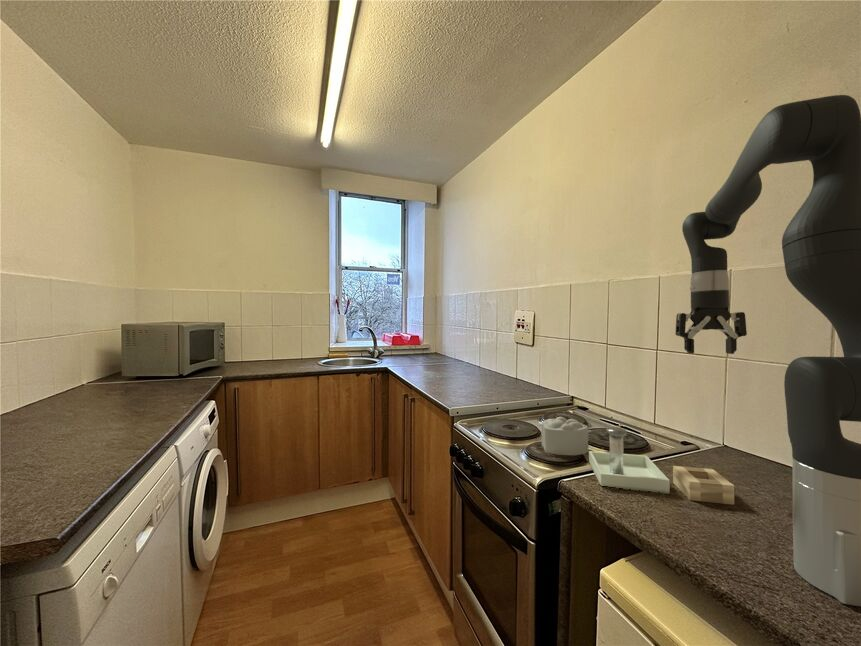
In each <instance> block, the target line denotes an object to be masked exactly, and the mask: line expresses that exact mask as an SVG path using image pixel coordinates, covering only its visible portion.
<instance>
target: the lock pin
mask: <svg viewBox="0 0 861 646" xmlns="http://www.w3.org/2000/svg"><path fill="white" fill-rule="evenodd" d="M605 432H606V434H607V435H608V436H609V453H610V473H611V474H619V475H624V464H623V454H624V437H626V436H627V430H626V428H625V429H624V428H622V427H619V426H618V427H617V426H608V427H606V430H605Z"/></svg>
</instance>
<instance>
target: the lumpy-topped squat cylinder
mask: <svg viewBox="0 0 861 646" xmlns="http://www.w3.org/2000/svg"><path fill="white" fill-rule="evenodd" d="M540 422H541V423H540V425H541V430H540V432H541V433H540V434H541V446H542V447H543V450H544V451H545V452H546V453H547V454H551V455H557V456H580V455H584V454H587V453H589V428H588V426H587V425H586V424H584V423H582V422H580V421H578V420H577V419H574V418H570V419H566V418H565V417H564V416H558V417H556V418H548V419H545V420H543V421H540Z"/></svg>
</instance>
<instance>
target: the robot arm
mask: <svg viewBox="0 0 861 646" xmlns="http://www.w3.org/2000/svg"><path fill="white" fill-rule="evenodd" d="M803 161H804V162H806V161H809V162H810V163H811V165H812V172H813V180H812V188H811V190H810V191H809V194H808V196H807V198H806V199H805V201H804V202H803V203H802V205H801V206H800V208H799V209H798V210H797V211H796V213H795V214H794V216H793V217H791V218H792V219H791V220H790V221H789V223H788V225H787V226H786V227H785V230H784V232H783V234H782V238H781V249H782V255H783V263H784V269H785V270H784V271H785V275H786V277H787V280H788V281H789V283H790V284H791V286H793V287H794V288H795V290H796V291H798V293H799V294H801V295H802V296H803V297H804V298H805V299H806V300H807V301H808V302H809V303H810V304H811V305H813V306H814V307H815V308H816V309H817V310H818V311H819V312H820V313H821V314H822V315H823V316H824V317H825V318H826V319H827V320H828V322H830V324H831V325H832V327H833V328H834V330H835V331H836V334H837V336H838V339H839V341H840V345H841V348H842V353H843V356H800V357H796V358H795V359H793V360H792V361H791V362H790V363H789V364H788V366H787V368H786V370H785V374H784V382H783V384H784V398H785V399H784V400H785V409H786V422H787V423H786V424H787V435H788V438H789V442H790V445H791V452H792V453H791V456H792V458H791V459H792V461H791V463H792V465H791V466H792V468H791V469H792V542H793V544H792V545H793V546H792V548H793V567H794V570H795V571H796V573H797V574H798V575H799V576H800V577H801V578H803V580H805V582H807V583H808V584H811V585H812V586H813V587H815V588H817V589H819V590H820V591H823V592H824V593H826V594H828V595H830V596H832V597H834V598H835V599H836V600H837V601H839V602H840V603H841V604H845V605H849V606H855V607H861V443H859V442H856V441H854V440H853V441H852V440H850V439H848V438H846V437H845V436H844V435H843V432H842V428H841V422H843V421H844V422H855V423H857V422H859V423H861V110H860V107H859V104H858V103H857V101H856V99H855V98H853V96H850V95H848V94H837V95H835V94H834V95H828V96H823V97H815V98H810V99H804V100H799V101H793V102H788V103H784V104H780V105H777V106H774V108H772V109H771V110H769V111H768V112H767V113H766V114H765V115H764V116H763V117H762V119H760V121H759V122H758V123H757V125H756V127H755V128H754V130H753V131H752V133H751V135H750V137H749V138H748V140H747V142H746V144H745V146H744V147H743V149H742V151H741V152H740V155H739V157H738V159H737V160H736V163H735V164H734V166H733V168H732V170H731V172H730V173H729V175H728V177H727V179H726V180H725V182H724V183H723V184H722V186H721V187H720V189H719V190H717V192H716V193H715V194H714V196H713V197H712V198H711V199H710V200H709V202H708V203H707V204H706V206H705V210H704V211H698V212H692V213H690V214H688V215H687V216H686V217H685V219H684V220H683V222H682V227H681V228H682V234H683V238H684V240H685V243H686V245H687V248H688V250H689V254H690V260H691V261H690V262H691V263H690V264H691V277H690V286H689V291H690V313H684V312H682V313H681V312H680V313H677V314H676V316H675V317H676V320H675V335H676V336H677V337H682V338H683V339H684V340H683V341H684V345H683V347H684V350H685V351H686V353H687V354H694V353H695V339H694V337H695V336H696V335H697V334H698V333H699V332H701V331H703V330H705V331H706V330H716V331H717V330H718V331H719V332H721V333H722V334H723V335H724V336H725V337H726V338H725V353H726V354H729V355H734V354H735V352H736V351H737V350H738V349H737V348H738V347H737V344H738V343H737V340H738V339H739V338H741V337H746V336H747V334H748V333H747V332H748V331H747V321H746V320H747V319H746V313H745V312H744V311H736V312H730V311H729V308H730V281H729V272H728V252H727V249H725V248H723V247H718V246H717V247H716V246H711V245H708V244H707V242H706V240H707V241H709V240H718V239H719V240H720V239H724V238H727V237H729V236H731V235H732V234H733V233H734V232H735V230H736V228H737V225H738V223H739V220H740V218H741V216H742V215H743V214H745V212H747V210H749V209H750V208H751V207H752V206H753V205H754V204H755V203H756V201H757V200H758V199H759V197H760V196H761V193H762V189H763V183H762V178H761V175H760V172H761V171H762V170H763V169H765V168H767V167H768V166H770V165H781V164H789V163H797V162H803ZM689 319H690V320H691V322H692V324H691V325H690V326H689V327H688V328H687V330H686V325H687V323H686V322H688V321H689ZM730 319H731V320H732V321H733V327H734V329H733V327H732V326H731V325H730V324H729V323H728V322H729V320H730Z"/></svg>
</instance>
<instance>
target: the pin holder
mask: <svg viewBox="0 0 861 646" xmlns="http://www.w3.org/2000/svg"><path fill="white" fill-rule="evenodd" d="M672 482H673V484H674V485H675V486H676V487H677V488H678V489H679V490H680V491H681V492H682V493H683V495H684V496H685V497H686V496H687V497H686V498H687V499H688V500H689V501H695V502H706V503H714V504H715V503H716V504H723V505H735V485H734V484H733V483H731V482H730V481H729V480H728V479H726V478H725V477H724V476H722V475H721V474H720V473H718V472H717V471H716V470H715V469H713V468H706V467H705V468H704V467H694V466H693V467H691V466H680V465H679V466H678V465H673V466H672Z"/></svg>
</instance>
